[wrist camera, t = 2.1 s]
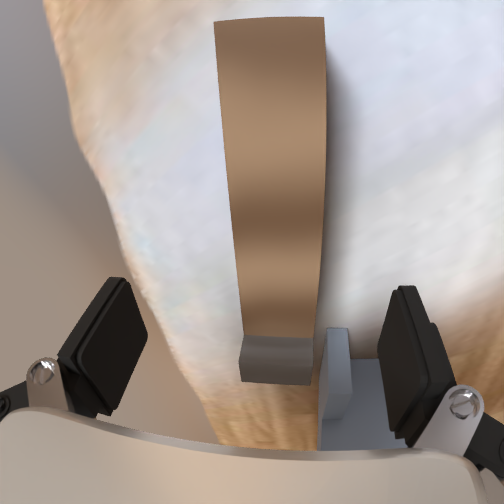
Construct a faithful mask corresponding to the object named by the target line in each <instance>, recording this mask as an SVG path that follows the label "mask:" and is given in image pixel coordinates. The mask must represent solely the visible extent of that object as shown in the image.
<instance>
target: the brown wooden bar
mask: <svg viewBox="0 0 504 504" xmlns="http://www.w3.org/2000/svg"><path fill="white" fill-rule="evenodd" d="M214 34H215V46H216V59H217V71H218V83H219V94H220V106H221V117H222V128H223V139H224V150H225V160H226V171H227V181H228V191H229V201H230V211H231V221H232V230H233V240H234V249H235V259H236V268H237V277H238V286H239V295H240V304H241V313H242V321H243V330H244V338H243V342H242V347H241V352H240V357H239V368H240V375H241V381H242V382H253V383H267V384H285V385H310V383H311V376H312V369H313V336H314V327H315V318H316V308H317V297H318V286H319V275H320V262H321V248H322V233H323V216H324V196H325V169H326V51H325V27H324V17H264V18H248V19H235V20H225V21H217V22H214Z"/></svg>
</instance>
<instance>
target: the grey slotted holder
mask: <svg viewBox="0 0 504 504" xmlns="http://www.w3.org/2000/svg"><path fill="white" fill-rule="evenodd" d="M394 448H407V445H406V444H405V439H395V434H394V432H391V431H390V429H389V423H388V415H387V407H386V400H385V394H384V387H383V381H382V375H381V369H380V363H379V359H350V353H349V342H348V331H347V328H327V332H326V339H325V345H324V351H323V357H322V363H321V369H320V375H319V410H318V441H317V451H353V450H375V449H394Z"/></svg>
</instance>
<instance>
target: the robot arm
mask: <svg viewBox="0 0 504 504" xmlns="http://www.w3.org/2000/svg"><path fill="white" fill-rule="evenodd" d="M147 338H148V334H147V330H146V327H145V325H144V322H143V320H142V317H141V314H140V311H139V308H138V305H137V303H136V300H135V297H134V294H133V291H132V288H131V285H130V283H129V282H127V281H126V279H125V278H122V277H109V278H108V279H107V281H106V282H105V283H104V285H103V286H102V288H101V289H100V291H99V292H98V293H97V295H96V296H95V298H94V299H93V301H92V302H91V304H90V305H89V306H88V308H87V309H86V311H85V312H84V314H83V315H82V317H81V318H80V320H79V321H78V323H77V324H76V326H75V327H74V329H73V330H72V332H71V333H70V335H69V337H68V338H67V340H66V341H65V343H64V344H63V346H62V348H61V349H60V351H59V353H58V354H57V355H58V359H57V361H56V360H55V359H53V358H47V357H45V358H41V359H39V360H37V361H35V362H34V363H33V364H32V365H31V366H30V368H29V369H28V372H27V375H26V381H24V382H22V383H20V384H18V385H15V386H13V387H11V388H9V389H7V390H4V391H2V392H0V504H504V425H503V424H502V423H500V422H499V421H497V420H495V419H494V418H492V417H491V416H489V415H488V414H486V413H485V412H483V411H484V401H483V399H482V397H481V395H480V394H479V392H478V391H477V390H475V389H474V388H472V387H470V386H467V385H457V384H456V381H455V378H454V374H453V371H452V368H451V365H450V362H449V359H448V356H447V353H446V350H445V348H444V345H443V342H442V339H441V336H440V334H439V331H438V328H437V326H436V324H434V323H430V321H429V319H428V316H427V313H426V311H425V308H424V306H423V303H422V300H421V298H420V295H419V293H418V291H417V288H416V286H399V287H398V289H397V290H393V292H392V295H391V299H390V303H389V307H388V310H387V314H386V317H385V321H384V324H383V328H382V331H381V335H380V338H379V341H378V346H377V352H378V358H379V363H380V369H381V375H382V381H383V387H384V394H385V400H386V407H387V415H388V423H389V429H390V431H391V432H394V434H395V439H405V444H406V445H407V448H394V449H375V450H353V451H289V450H270V449H256V448H244V447H234V446H225V445H217V444H210V443H202V442H196V441H190V440H184V439H178V438H173V437H167V436H162V435H157V434H152V433H148V432H143V431H139V430H135V429H130V428H126V427H122V426H118V425H114V424H110V423H107V422H103V421H100V420H97V419H96V416H97V414H98V413H100V414H104V415H107V416H111V414H112V412H113V410H116V409H117V407H118V405H119V403H120V401H121V398H122V396H123V394H124V391H125V389H126V387H127V384H128V382H129V380H130V377H131V375H132V373H133V371H134V368H135V366H136V364H137V362H138V359H139V357H140V355H141V353H142V351H143V348H144V346H145V344H146V342H147ZM487 499H488V500H487Z"/></svg>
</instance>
